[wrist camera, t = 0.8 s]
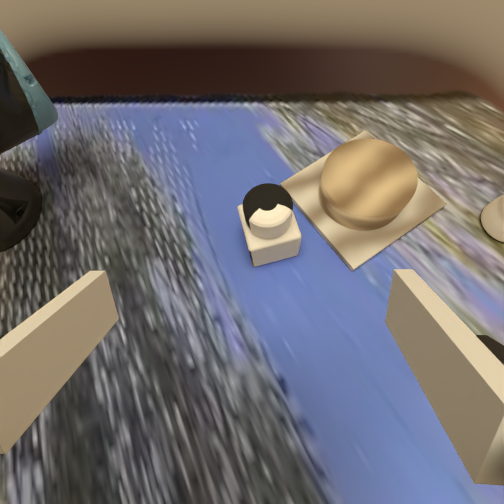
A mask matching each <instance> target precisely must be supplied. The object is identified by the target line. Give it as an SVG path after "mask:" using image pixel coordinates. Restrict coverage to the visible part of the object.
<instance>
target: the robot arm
mask: <svg viewBox="0 0 504 504" xmlns="http://www.w3.org/2000/svg"><path fill="white" fill-rule="evenodd" d="M57 119H58V113H57V110H56V108H55V107H54V105H53V104H52V102H51V101H50V99H49V98H48V96H47V95H46V93H45V92H44V91H43V89H42V88H41V86H40V85H39V83H38V82H37V80H36V79H35V77H34V76H33V75H32V73H31V72H30V70H29V69H28V67H27V66H26V64H25V63H24V61H23V60H22V59H21V57H20V56H19V54H18V53H17V52H16V50H15V48H14V47H13V46H12V44H11V43H10V41H9V40H8V38H7V37H6V36H5V34H4V33H3V31H2V30H1V29H0V154H1V153H3V152H5V151H7V150H9V149H11V148H13V147H15V146H17V145H19V144H21V143H23V142H25V141H26V140H28V139H30V138H32V137H34V136H36V135H40V134H41V133H42V131H43V130H45V129H46V128H48V127H49V126H51V125H53V124H54V123H55V122H56V121H57ZM41 207H42V199H41V194H40V192H39V190H38V189H37V187H36V186H35V185H34V184H32V183H31V182H30V181H28V180H27V179H25V178H24V177H22V176H21V175H19V174H16V173H13V172H10V171H7V170H5V169H2V168H0V251H3V250H6V249H8V248H10V247H12V246H13V245H15V244H16V243H18V242H19V241H20V240H22V239H23V238H24V237H25V236H26V235H27V234H28V233H29V232H30V230H31V229H32V228H33V226H34V225H35V223H36V222H37V220H38V217H39V215H40V212H41ZM118 319H119V317H118V314H117V310H116V307H115V303H114V299H113V296H112V292H111V289H110V285H109V282H108V278H107V275H106V271H89V272H88V273H87V274H85V275H84V276H83V277H82V278H80V279H79V280H78V281H76V282H75V283H74V284H72V285H71V286H70V287H68V288H67V289H66V290H64V291H63V292H62V293H60V294H59V295H58V296H57V297H55V298H54V299H53V300H51V301H50V302H49V303H47V304H46V305H45V306H43V307H42V308H41V309H39V310H38V311H37V312H35V313H34V314H33V315H32V316H30V317H29V318H28V319H26V320H25V321H24V322H22V323H21V324H20V325H18V326H17V327H16V328H14V329H13V330H12V331H10V332H9V333H7V334H5V335H3V336H1V337H0V454H6V453H7V452H8V451H9V450H10V449H11V447H12V446H13V445H14V444H15V443H16V441H17V440H18V439H19V438H20V437H21V435H22V434H23V433H24V432H25V431H26V429H27V428H28V427H29V426H30V425H31V423H32V422H33V421H34V420H35V419H36V417H37V416H38V415H39V414H40V413H41V411H42V410H43V409H44V408H45V407H46V405H47V404H48V403H49V402H50V401H51V399H52V398H53V397H54V396H55V395H56V393H57V392H58V391H59V390H60V389H61V387H62V386H63V385H64V384H65V383H66V382H67V380H68V379H69V378H70V377H71V376H72V374H73V373H74V372H75V371H76V370H77V368H78V367H79V366H80V365H81V364H82V362H83V361H84V360H85V359H86V358H87V356H88V355H89V354H90V353H91V352H92V350H93V349H94V348H95V347H96V346H97V344H98V343H99V342H100V341H101V340H102V338H103V337H104V336H105V335H106V334H107V332H108V331H109V330H110V329H111V328H112V326H113V325H114V324H115V323H116V322H117V320H118ZM385 323H386V325H387V326H388V328H389V330H390V332H391V334H392V335H393V337H394V339H395V341H396V343H397V344H398V346H399V348H400V350H401V352H402V353H403V355H404V357H405V359H406V361H407V363H408V364H409V366H410V368H411V370H412V372H413V373H414V375H415V377H416V379H417V381H418V382H419V384H420V386H421V388H422V390H423V392H424V393H425V395H426V397H427V399H428V401H429V402H430V404H431V406H432V408H433V410H434V411H435V413H436V415H437V417H438V419H439V420H440V422H441V424H442V426H443V428H444V430H445V431H446V433H447V435H448V437H449V439H450V440H451V442H452V444H453V446H454V448H455V449H456V451H457V453H458V455H459V457H460V459H461V460H462V462H463V464H464V466H465V468H466V469H467V471H468V473H469V475H470V477H471V478H472V480H473V482H474V484H490V485H504V346H503V345H502V344H500V343H498V342H497V341H495V340H494V339H492V338H490V337H489V336H487V335H475V334H474V333H473V332H472V331H471V330H470V329H469V328H468V327H467V326H466V325H465V324H464V323H463V322H462V321H461V320H460V319H459V318H458V317H457V316H456V314H455V313H454V312H453V311H452V310H451V309H450V308H449V307H448V306H447V305H446V304H445V303H444V302H443V301H442V300H441V299H440V298H439V297H438V296H437V295H436V293H435V292H434V291H433V290H432V289H431V288H430V287H429V286H428V285H427V284H426V283H425V282H424V281H423V280H422V279H421V278H420V277H419V276H418V275H417V274H416V272H415V271H414V270H413V269H394V272H393V278H392V284H391V290H390V296H389V302H388V308H387V314H386V320H385Z"/></svg>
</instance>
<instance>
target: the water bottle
mask: <svg viewBox="0 0 504 504" xmlns="http://www.w3.org/2000/svg"><path fill="white" fill-rule="evenodd" d="M481 223H482V225H483V227H484V229H485V231H486V232H487V233H488V234H489V235H490V236H492V237H493V238H495V239H496V240H498V241H501V242H504V194H503V195H501V196H500V197H498V198H496V199H495V200H493V201H492V202H490V203H489V204H488V205H487V206H486V207H485V208H484V209H483V211H482V213H481Z"/></svg>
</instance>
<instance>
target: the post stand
mask: <svg viewBox="0 0 504 504" xmlns="http://www.w3.org/2000/svg"><path fill="white" fill-rule="evenodd" d="M280 186H281V187H283V188H284V189H285V190H287V191H288V193H289V194H290V196H291V198H292V201H293V203H294V204H295V206H296V207H297V208H298V209H299V210H300V211H301V213H302V214H303V215H304V216H305V217H306V218H307V220H308V221H309V222H310V223H311V224H312V226H313V227H314V228H315V229H316V230H317V231H318V233H319V234H320V235H321V236H322V237H323V238H324V240H325V241H326V242H327V243H328V244H329V245H330V247H331V248H332V249H333V250H334V251H335V252H336V254H337V255H338V256H339V257H340V258H341V260H342V261H343V262H344V263H345V264H346V265H347V267H348V268H349V269H350V270H351V271H353V270H355V269H356V268H358V267H359V266H361V265H362V264H363V263H365V262H366V261H368V260H369V259H371V258H372V257H373V256H375V255H376V254H378V253H379V252H381V251H382V250H383V249H385V248H386V247H388V246H389V245H390V244H392V243H393V242H395V241H396V240H398V239H399V238H400V237H402V236H403V235H405V234H406V233H408V232H409V231H410V230H412V229H413V228H415V227H416V226H418V225H419V224H420V223H422V222H423V221H425V220H426V219H428V218H429V217H430V216H432V215H433V214H435V213H436V212H437V211H439V210H440V209H442V208H443V207H444V206H445V205H446V204H447V203H445V202H444V201H443V200H442V199H441V198H440V197H439V196H438V195H437V194H435V193H434V192H433V191H432V190H431V189H430V188H429V187H428V186H427V185H425V184H424V183H423V182H422V181H421V180H420V179H419V178H418V176H417V171H416V168H415V166H414V164H413V162H412V161H411V159H410V158H409V157H408V156H407V155H406V154H405V153H404V152H403V151H402V150H400V149H399V148H397V147H396V146H394V145H392V144H390V143H387V142H385V141H381V140H377V139H374V138H373V137H372V136H371V135H370V134H369V133H368V132H366V131H364V132H362V133H361V134H359V135H357V136H356V137H354V138H353V139H351V140H349V141H348V142H346V143H344V144H342V145H340V146H338V147H337V148H336V149H334V150H333V151H332V152H330V153H329V154H327V155H325V156H324V157H322V158H321V159H319V160H317V161H316V162H314V163H313V164H311V165H309V166H308V167H306V168H305V169H303V170H301V171H300V172H298V173H296V174H295V175H293V176H292V177H290V178H288V179H287V180H285V181H284V182H282V183H280Z"/></svg>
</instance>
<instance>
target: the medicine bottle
mask: <svg viewBox="0 0 504 504" xmlns="http://www.w3.org/2000/svg"><path fill="white" fill-rule="evenodd" d="M292 209H293V201H292V198H291V196H290V194H289V193H288V191H287V190H285V189H284V188H283V187H281V186H279V185H276V184H269V183H268V184H261V185H258V186H256V187H254V188H252V189H251V190H250V191H249V192H248V193H247V194H246V196H245V198H244V200H243V204H242V205H239V206H238V211H239V215H240V219H241V223H242V227H243V230H244V234H245V238H246V242H247V245H248V249H249V253H250V257H251V260H252V264H253V266H254V267H256V266H260V265H264V264H267V263H271V262H275V261H279V260H283V259H286V258H290V257H294V256H297V255H298V252H299V247H300V242H301V233H300V230H299V227H298V224H297V222H296V219H295V216H294V213H293V210H292Z"/></svg>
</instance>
